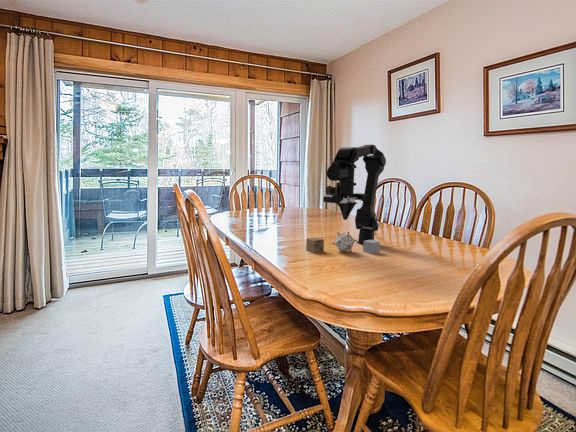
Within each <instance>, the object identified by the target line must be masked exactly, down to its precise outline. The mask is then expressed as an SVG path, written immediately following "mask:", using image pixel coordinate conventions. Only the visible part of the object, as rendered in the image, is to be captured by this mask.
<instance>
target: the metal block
mask: <svg viewBox="0 0 576 432" xmlns="http://www.w3.org/2000/svg"><path fill="white" fill-rule="evenodd" d="M305 243H306V245H305V250H306V251H307V252H310V253H313V254H315V253H322V252H324V251H325V248H324V247H325V246H324V245H325V239H324V238H322V237H321V238H320V237H317V236H313V237H306V241H305Z"/></svg>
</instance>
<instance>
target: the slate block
mask: <svg viewBox="0 0 576 432" xmlns="http://www.w3.org/2000/svg"><path fill="white" fill-rule="evenodd" d="M380 247H381V241H379V240H375V239H374V240H366V241H363V244H362V248H363V249H362V252H363V253H368V254H369V255H373V254H378V253H380Z"/></svg>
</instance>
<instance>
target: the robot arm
mask: <svg viewBox="0 0 576 432" xmlns="http://www.w3.org/2000/svg"><path fill="white" fill-rule="evenodd" d="M360 158H362V161H363V163H364V168H365V171H366V174H367V176H366V181H365V189H364V193H361V192H356V193H354V189H355V187H356V186H357V182H355V169H357V165H356V164H355V163H356V162H358V161H359V159H360ZM386 164H387V159H386V157H385V155H384V152H382V151H381V150H379V149H378V148H377V146H376V145H375V144H363V145H361V146H356V147H354V146H353V147H352V146H350V147H348V146H347V147H339V148H338V151H337V152H336V154H335V157H334V159H333V161H331V165H330V166H328V168H327V170H326V177H327V178H328V180H330V181H331V182H332V181H333V182H336V186H334V187H333V186H332V185H326V187H325V195H323V203H330V204H336V205H337V206H338V208H339V209H340V213H341V216H342V219H343V220H344V221H347V220H348V218H349V216H350V215H351V213H352V211H353V210H354V208H355V206H356V205H357V204H358V201H361V202H362V205H361V207H360V208H357V210H356V214H355V218H354V224H355V230H359V233H358V240H357V241H355V242H356V244H357V243H358V244H360V245H363V241H366V240H375V232H378V231H379V226H380V225H379V223H378V220H377V214H376V212H375V209H374V206H375V201H376V195H377V188H378V182H379V176H380V175H381V174H382V173H383V172H384V169H385V166H386ZM337 181H338V182H337ZM357 200H358V201H357ZM356 201H357V202H356Z"/></svg>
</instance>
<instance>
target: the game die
mask: <svg viewBox="0 0 576 432" xmlns="http://www.w3.org/2000/svg"><path fill="white" fill-rule="evenodd" d="M336 233H337V235H336V238H335V240H334V242H332V245H335V246H336V248H337V249H338V250H339V253H340V254H341V253H342V252H348V251H349V252H351V253H353V251H352V249H353V247H354V244H355V242H356V241H358V240H357V239H354V238H353V236H352V235H351V234H350V231H347V232H344V233H343V232H342V233H341V232H340V233H339V232H338V231H337V232H336Z"/></svg>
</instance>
